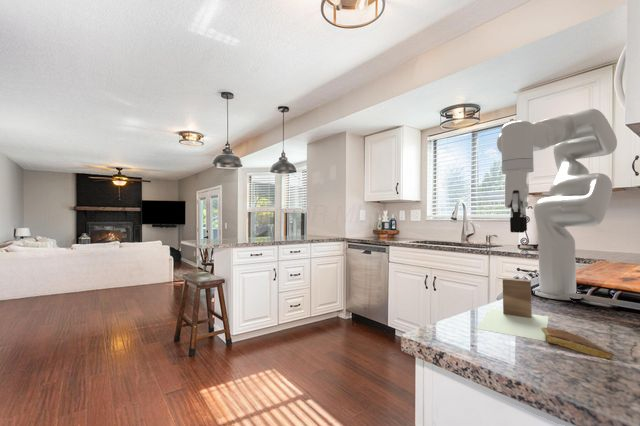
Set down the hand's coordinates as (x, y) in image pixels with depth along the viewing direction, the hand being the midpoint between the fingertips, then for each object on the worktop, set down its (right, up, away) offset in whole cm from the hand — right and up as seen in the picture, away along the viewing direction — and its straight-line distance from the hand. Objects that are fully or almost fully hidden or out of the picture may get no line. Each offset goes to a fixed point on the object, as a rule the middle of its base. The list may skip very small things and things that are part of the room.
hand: (518, 231), depth 90 cm
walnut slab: (-4, -21, -6) cm, 22 cm away
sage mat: (-9, -22, -12) cm, 26 cm away
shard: (-4, -22, -25) cm, 34 cm away
